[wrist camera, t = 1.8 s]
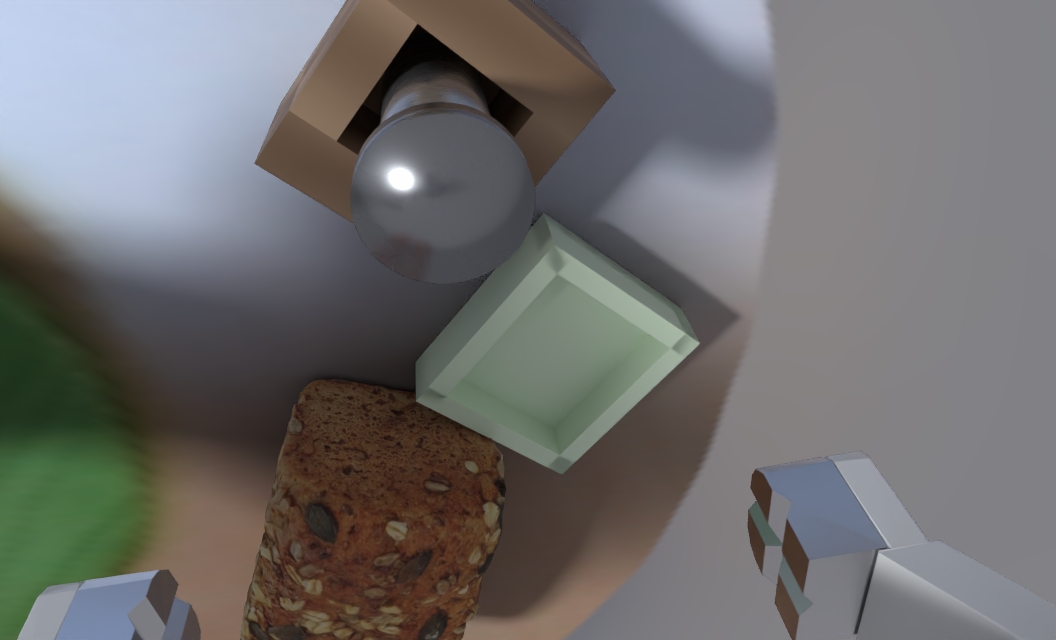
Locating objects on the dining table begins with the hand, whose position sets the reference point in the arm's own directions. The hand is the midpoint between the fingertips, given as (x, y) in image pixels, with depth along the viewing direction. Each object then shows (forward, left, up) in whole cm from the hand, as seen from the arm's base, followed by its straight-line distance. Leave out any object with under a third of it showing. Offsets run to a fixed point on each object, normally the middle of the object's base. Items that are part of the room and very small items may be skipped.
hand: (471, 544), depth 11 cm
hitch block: (0, 0, -23) cm, 23 cm away
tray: (-7, -12, -23) cm, 27 cm away
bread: (-22, -11, -23) cm, 34 cm away
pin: (0, 0, -22) cm, 22 cm away
